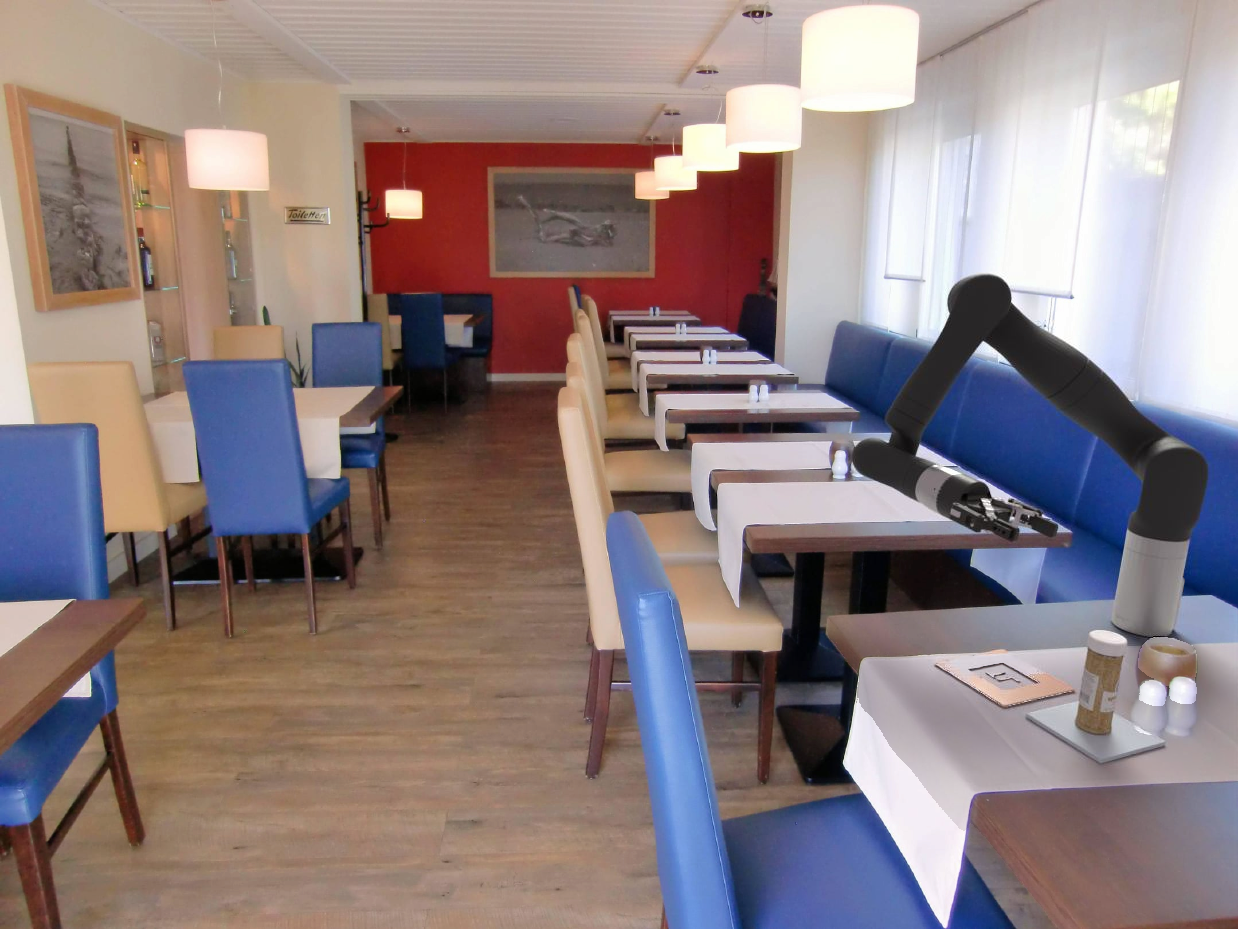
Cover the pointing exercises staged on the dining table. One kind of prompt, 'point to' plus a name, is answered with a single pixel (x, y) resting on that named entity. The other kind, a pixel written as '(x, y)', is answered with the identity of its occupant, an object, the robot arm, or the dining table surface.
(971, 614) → the dining table surface
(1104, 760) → the pad
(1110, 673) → the sprinkles bottle
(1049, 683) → the peach square frame
